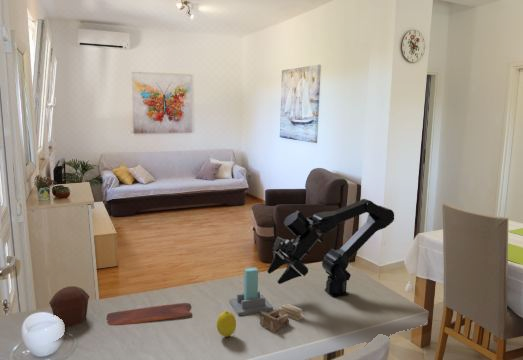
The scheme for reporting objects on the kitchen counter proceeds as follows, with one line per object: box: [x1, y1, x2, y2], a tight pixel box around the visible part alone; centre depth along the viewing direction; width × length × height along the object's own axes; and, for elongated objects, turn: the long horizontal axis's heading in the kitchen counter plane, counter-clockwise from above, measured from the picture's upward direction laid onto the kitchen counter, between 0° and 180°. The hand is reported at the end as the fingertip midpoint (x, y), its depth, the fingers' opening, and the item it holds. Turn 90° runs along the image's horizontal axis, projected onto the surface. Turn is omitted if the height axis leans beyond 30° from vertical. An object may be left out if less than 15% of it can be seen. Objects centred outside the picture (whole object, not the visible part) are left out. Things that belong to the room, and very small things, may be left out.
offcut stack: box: [278, 303, 304, 322], centre depth 136 cm, size 3×8×3 cm, turn 50°
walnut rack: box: [259, 308, 290, 333], centre depth 129 cm, size 7×6×4 cm
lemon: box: [216, 310, 237, 338], centre depth 122 cm, size 6×6×8 cm
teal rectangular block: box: [243, 267, 259, 300], centre depth 140 cm, size 4×2×12 cm, turn 110°
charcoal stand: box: [229, 290, 274, 316], centre depth 141 cm, size 12×10×4 cm
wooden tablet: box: [106, 302, 193, 326], centre depth 134 cm, size 27×10×2 cm, turn 105°
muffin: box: [48, 285, 90, 327], centre depth 130 cm, size 12×11×10 cm
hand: (273, 277), depth 143 cm, fingers open, 9 cm apart
